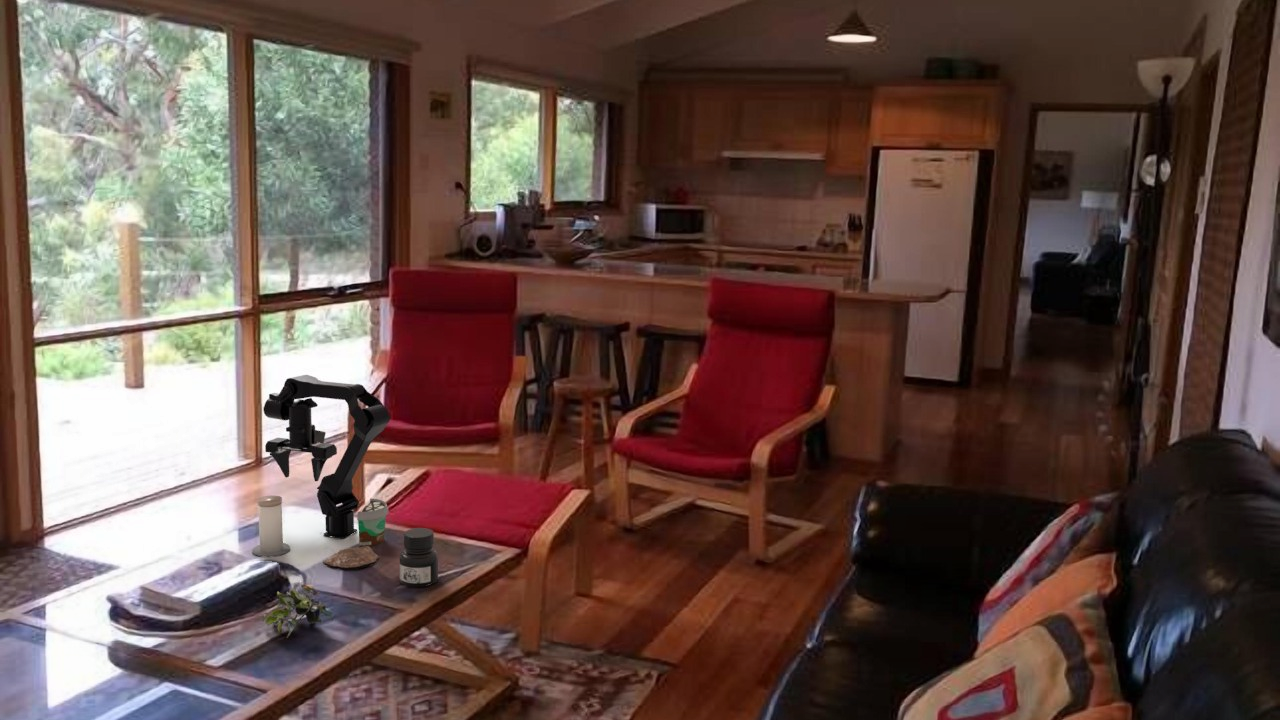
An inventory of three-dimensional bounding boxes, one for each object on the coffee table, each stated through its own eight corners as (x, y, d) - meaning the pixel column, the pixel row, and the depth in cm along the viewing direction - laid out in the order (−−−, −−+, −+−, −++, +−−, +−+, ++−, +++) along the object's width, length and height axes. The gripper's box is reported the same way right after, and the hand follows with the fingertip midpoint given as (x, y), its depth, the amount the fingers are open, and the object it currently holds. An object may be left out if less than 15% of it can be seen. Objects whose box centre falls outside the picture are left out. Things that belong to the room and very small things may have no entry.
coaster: (297, 547, 264) (297, 545, 264) (275, 558, 255) (275, 557, 255) (267, 542, 267) (267, 540, 266) (244, 554, 258) (244, 552, 258)
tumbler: (288, 546, 263) (286, 497, 261) (274, 553, 257) (272, 503, 255) (269, 543, 264) (267, 494, 262) (254, 550, 259) (252, 500, 257)
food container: (381, 551, 263) (381, 513, 261) (357, 550, 263) (357, 512, 261) (394, 534, 275) (393, 498, 273) (371, 533, 275) (370, 497, 274)
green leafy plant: (311, 647, 221) (344, 605, 220) (284, 661, 210) (318, 616, 209) (273, 612, 223) (306, 570, 221) (245, 624, 212) (279, 579, 211)
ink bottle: (390, 584, 242) (390, 535, 240) (412, 571, 250) (411, 524, 248) (426, 591, 239) (426, 541, 237) (446, 578, 247) (446, 530, 245)
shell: (389, 561, 257) (389, 547, 257) (347, 576, 247) (347, 561, 247) (359, 550, 264) (359, 537, 263) (317, 564, 254) (317, 550, 253)
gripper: (347, 419, 280) (349, 475, 283) (288, 413, 285) (290, 467, 288) (323, 428, 269) (325, 486, 272) (263, 421, 275) (265, 478, 278)
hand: (301, 479), depth 278 cm, fingers open, 9 cm apart
